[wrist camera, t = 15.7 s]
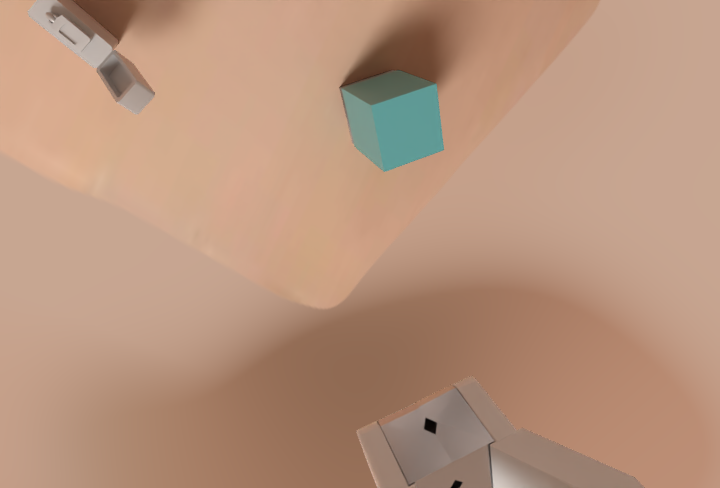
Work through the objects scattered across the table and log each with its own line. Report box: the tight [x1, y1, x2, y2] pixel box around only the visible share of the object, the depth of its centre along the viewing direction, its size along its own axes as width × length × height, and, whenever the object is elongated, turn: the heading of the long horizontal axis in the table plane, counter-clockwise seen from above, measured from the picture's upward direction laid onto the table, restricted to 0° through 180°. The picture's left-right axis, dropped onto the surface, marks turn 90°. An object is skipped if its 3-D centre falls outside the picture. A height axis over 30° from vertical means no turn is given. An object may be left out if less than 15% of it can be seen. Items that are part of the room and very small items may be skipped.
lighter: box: [28, 0, 155, 114], centre depth 27 cm, size 7×2×8 cm, turn 41°
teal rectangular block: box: [341, 70, 444, 172], centre depth 36 cm, size 5×5×7 cm
